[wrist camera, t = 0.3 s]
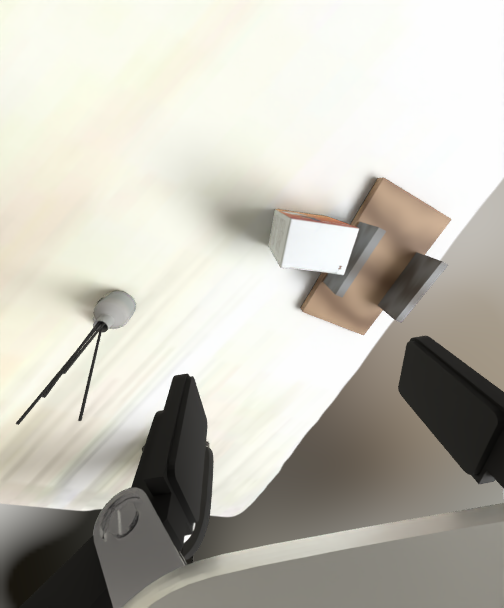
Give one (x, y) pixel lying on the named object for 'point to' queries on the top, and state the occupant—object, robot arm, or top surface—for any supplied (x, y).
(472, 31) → the top surface
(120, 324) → the reed diffuser
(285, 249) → the small box
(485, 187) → the top surface
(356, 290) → the holder stand
